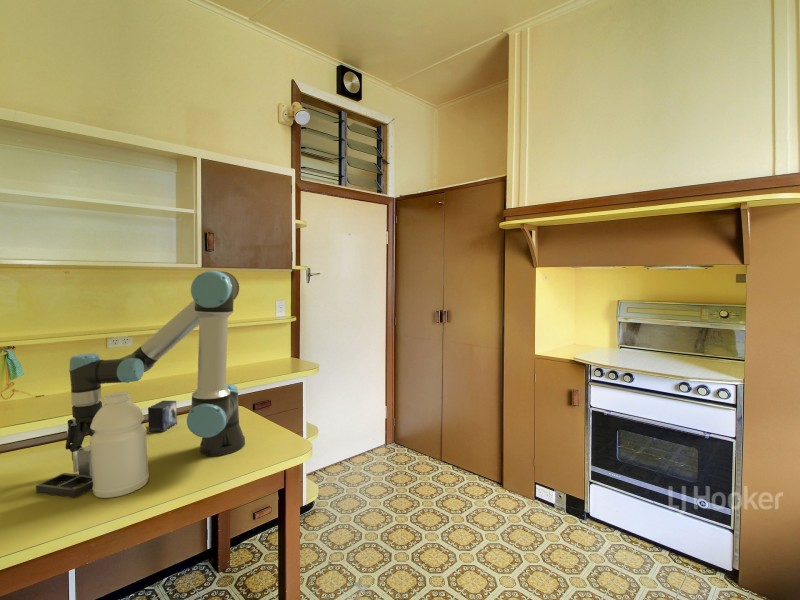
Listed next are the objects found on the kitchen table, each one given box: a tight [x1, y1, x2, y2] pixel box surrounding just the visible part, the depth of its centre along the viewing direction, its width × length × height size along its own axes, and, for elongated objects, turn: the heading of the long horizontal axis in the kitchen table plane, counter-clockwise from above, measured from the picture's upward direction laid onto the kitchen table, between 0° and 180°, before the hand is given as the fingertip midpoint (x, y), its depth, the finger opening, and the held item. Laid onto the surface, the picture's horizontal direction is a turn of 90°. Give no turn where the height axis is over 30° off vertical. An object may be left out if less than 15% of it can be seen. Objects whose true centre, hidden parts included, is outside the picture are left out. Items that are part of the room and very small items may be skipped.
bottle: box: [89, 391, 150, 499], centre depth 120 cm, size 14×14×28 cm
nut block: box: [77, 444, 92, 476], centre depth 128 cm, size 4×4×9 cm
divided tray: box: [35, 472, 93, 499], centre depth 121 cm, size 14×8×2 cm, turn 77°
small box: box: [147, 400, 178, 433], centre depth 170 cm, size 11×6×10 cm, turn 179°
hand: (91, 472), depth 129 cm, fingers open, 9 cm apart
